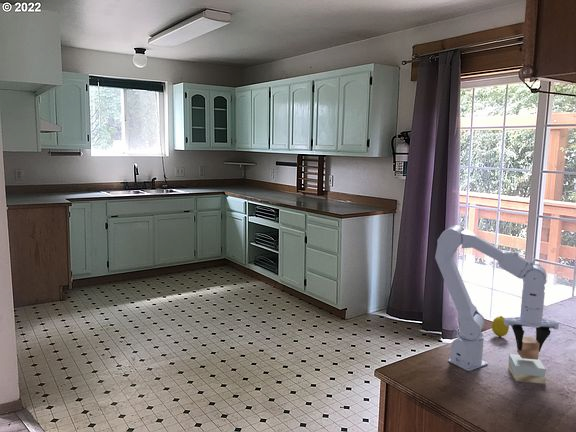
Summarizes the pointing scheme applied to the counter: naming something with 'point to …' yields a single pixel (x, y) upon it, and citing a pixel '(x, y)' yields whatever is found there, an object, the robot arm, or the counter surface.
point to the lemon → (499, 327)
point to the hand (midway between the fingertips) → (528, 349)
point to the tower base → (527, 377)
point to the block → (529, 348)
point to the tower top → (526, 366)
